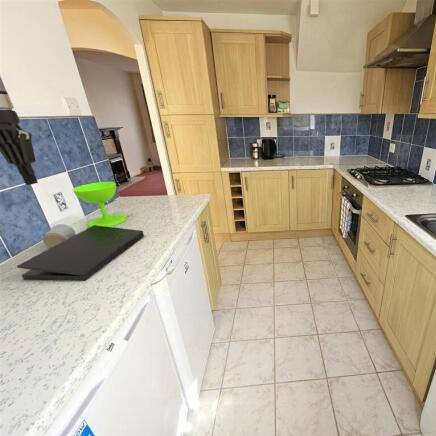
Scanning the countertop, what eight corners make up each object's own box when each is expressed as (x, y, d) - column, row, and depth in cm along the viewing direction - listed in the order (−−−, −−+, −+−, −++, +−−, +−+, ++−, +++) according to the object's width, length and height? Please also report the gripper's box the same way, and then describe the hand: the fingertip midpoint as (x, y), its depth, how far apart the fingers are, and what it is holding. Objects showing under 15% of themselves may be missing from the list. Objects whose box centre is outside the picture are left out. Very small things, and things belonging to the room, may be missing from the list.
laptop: (23, 279, 77) (20, 274, 77) (97, 236, 105) (96, 232, 104) (85, 280, 76) (83, 275, 75) (144, 236, 103) (143, 232, 103)
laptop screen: (17, 268, 76) (16, 265, 75) (94, 226, 103) (94, 225, 103) (83, 276, 75) (82, 273, 75) (143, 232, 103) (142, 230, 102)
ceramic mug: (45, 251, 94) (37, 233, 90) (56, 242, 101) (48, 225, 98) (79, 246, 97) (71, 229, 94) (86, 237, 104) (80, 221, 101)
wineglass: (128, 213, 129) (118, 180, 122) (124, 224, 115) (112, 188, 108) (92, 219, 123) (78, 184, 115) (82, 231, 109) (67, 193, 102)
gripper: (29, 109, 78) (59, 180, 88) (-7, 110, 79) (26, 181, 88) (3, 109, 71) (38, 186, 81) (-37, 110, 72) (2, 186, 82)
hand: (32, 183), depth 85 cm, fingers closed
